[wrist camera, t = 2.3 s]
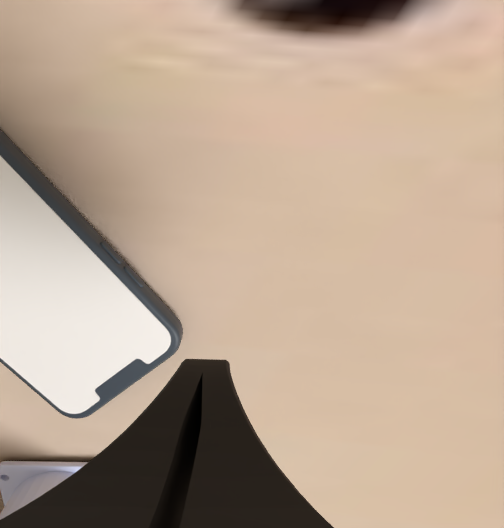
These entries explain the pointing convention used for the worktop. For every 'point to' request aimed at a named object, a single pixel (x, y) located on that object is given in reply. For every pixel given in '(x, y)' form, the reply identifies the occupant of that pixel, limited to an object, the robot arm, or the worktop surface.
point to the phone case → (70, 299)
